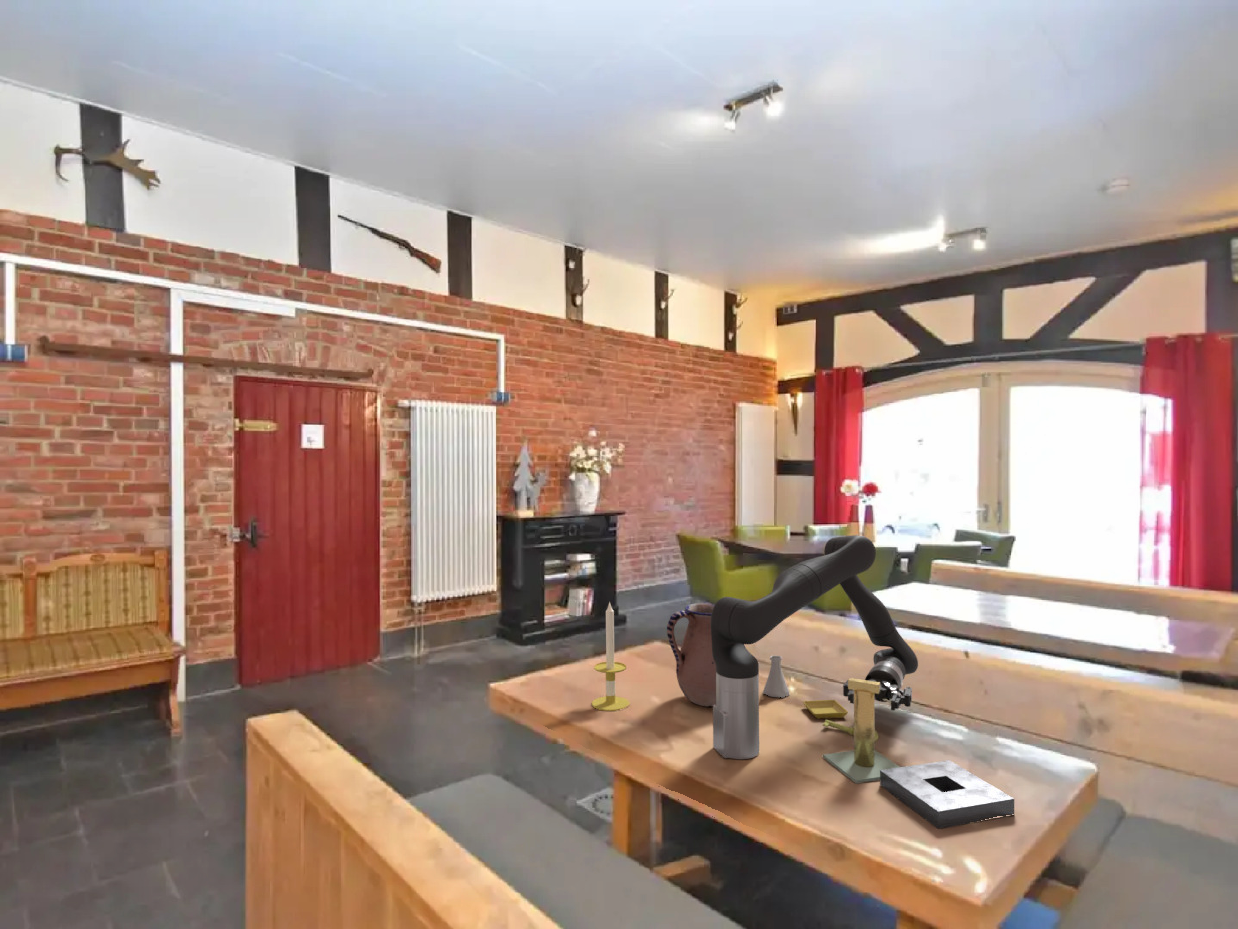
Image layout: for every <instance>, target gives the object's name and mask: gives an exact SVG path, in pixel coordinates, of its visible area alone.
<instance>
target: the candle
mask: <svg viewBox="0 0 1238 929" xmlns="http://www.w3.org/2000/svg"><path fill="white" fill-rule="evenodd" d="M614 614H615V610H613V607H612V605H611V602H610V601H609V603H608V605H607V609H606V610H605V651H606V652H605V654H606V655H605V661H604V662H603V661H602V662H599V663H597V664H595V665H594V667H593V669H594V670H595V671H597V672H599V673H602V674H603V673H605V696H602V697H601V696H600V697H598V698H595V699H594V700H593V701H591V707H593V709H595V708H596V709H595V710H598V709H599V710H598V711H602V710H603V711H602V712H616V710H618V711H621V710H620V709H623V708H625V707H627V705H629V704H631V703H630V701H629V700H628V699H627V698H624V697H621V696H617V695H616V673H617V674H618V673H620V672H621V673H622V672H624V671H625V670H627V665H626V664H625V663H623V662H619V661H615V615H614ZM629 706H630V705H629ZM627 708H628V707H627ZM625 709H626V708H625ZM623 710H624V709H623Z"/></svg>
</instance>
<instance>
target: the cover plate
mask: <svg viewBox="0 0 1238 929" xmlns="http://www.w3.org/2000/svg"><path fill="white" fill-rule="evenodd" d="M879 786H880V787H882V788H883V789H884V790H886V791H887V792H889V793H890V794H891V795H892V796H894V797H895V798H896V799H898V801H900V802H902V803H903V804H904V805H906V806H907V807H909V808H910V809H911V810H912V811H914V812H915V813H916V814H917V815H919V816H920V817H922V818H923V819H924V820H926V821H927V822H929V823H930V824H931V825H932V826H934V827H935V828H937V829H938V830H939V829H940V830H941V829H945V828H950V827H951V828H952V827H956V826H961V825H967V823H969V824H971V823H970V822H974V823H978V822H977V821H980V822H982V821H981V820H985V819H989V818H993V817H997V816H1006V815H1012V814H1014V815H1015V798H1014V797H1012V796H1011V795H1009V794H1008V793H1005V792H1004V791H1002V790H1001V789H999V788H997V787H996V786H994V785H992V784H990V783H988V782H987V781H985V780H983V779H981V778H980V777H978V776H977V775H975V774H973V773H972V772H970V771H968V770H967V769H965V768H964V767H962V766H960V765H959V764H957V763H955V762H953V761H951V760H950V759H948V760H940V761H935V762H927V763H920V764H913V765H907V766H899V768H892V769H885V770H880V780H879ZM944 791H945V792H944ZM946 791H947V792H946Z"/></svg>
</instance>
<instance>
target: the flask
mask: <svg viewBox="0 0 1238 929" xmlns="http://www.w3.org/2000/svg"><path fill="white" fill-rule="evenodd" d="M782 658H783V657H782V656H780V655H770V657H769V659H770V670H769V672H768V676H767V679H766V682H765V684H764V687H763V690H762V691H763V692H762V694H763V695H764V694H766V695H765V696H767V695H768V697H770V698H780V697H781V698H786V697H788V696H790V689H789V687H788V685H787V682H786V679H785V676H784V673H783V670H782V664H781V661H782ZM785 696H786V697H785ZM781 698H780V699H781Z"/></svg>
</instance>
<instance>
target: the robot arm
mask: <svg viewBox="0 0 1238 929" xmlns="http://www.w3.org/2000/svg"><path fill="white" fill-rule="evenodd" d="M824 545H825V546H824V549H823V550H824V552H823V553H824V554H823V555H821V556H816V557H813V558H810V559H806V560H803V561H800V562H797V564H794V565H793V566H791V567H788V568H786V569H785V570H783V571H782V572H781V573H780V574H779V575H778V576H777V577H776V579H775V580H774V582H773V587H772V591H771V592H770V593H768V594H766V595H765V596H763V597H762V598H759V599H756V600H746V599H742V598H737V597H733V596H732V597H730V596H724V597H721V598H720V599H718V600H717V601H716V602H715V603H714V604H713V605H714V608H713V610H712V614H711V640H712V655H713V659H714V662H715V664H716V704H714V705H713V707H712V738H713V739H712V745H713V746H712V747H713V749H715V751H716V752H717V753H718V754H719V755H720V754H721V755H722V756H723V757H724V758H723V757H722V756H721V755H720V756H721V757H722V758H723V759H734V760H748V759H752V758H755V757H757V756H758V755H759V754H760V678H759V676H760V672H759V670H760V669H759V668H760V666H759V664H760V663H759V661H758V659H757V658H756V657H755V656H754V655H753V654H751V652H750V651H749V650H748V649H747V648H746V646H745V645H753V644H756V643H757V642H759V641H761V640H763V638H765V637H766V636H767V635H768V634H769V633H770V632H772V631H773V630H774V629H775V628H777V626H779V625H780V624H781V623H783V621H784V620H786V619H788V618H790V617H791V616H792V615H794V614H795V613H796V612H798V611H800V610H801V609H802V608H805V607H807V606H808V605H810V604H811V603H812V602H814V601H816V600H818V599H819V598H820V597H822V596H824V595H825V594H827V592H830V591H831V590H832V589H834V588H835V587H837V586H839V585H840V587H841V588H842V590H843V591H844V592H845V594H846V595H847V597H848V599H849V600H850V602H851V603H852V605H853V607H854V608H855V610H856V612H857V613H858V615H859V617H860V620H861V622H862V623H863V624H862V625H863V626H864V629H865V631H866V633H867V635H868V638H869V640H870V642H871V643H872V644H873V645H874V646H876V647H884V648H885V649H880V650H877V651H876V652H875V653H874V654H873V659H872V660H873V664H874V665H873V666H872V667H871V669H870V670H869V672H868V673H867V675H866V676H865V678H864V680H867V681H874V682H880V692H879V694H877V693H874V701H877V702H881V703H888V704H890V711H896V710H898V709H899V708H900V707H901V706H902V705H904V706H905V707H907V708H908V707H911V705H912V700H913V688H912V687H911V686H906V687H905V688H903V689H902V687H903V681H904V679H905V676H906V675H912V674H914V673H915V672H917V670H918V667H919V660H918V657H917V655H916V653H915V652H914V650H913V649H912V647H911V646H910V645H909V644H908V643H907V642H906V641H905V639H904V638H903V637H902V635H901V634H900V632H898V630H897V628H896V626H895V624H894V621H893V618H892V616H891V614H890V612H889V610H888V609H887V607H886V606H885V604H884V603H883V602H882V600H880V598H878V597H877V596H876V595H875V594H874V593H873V592H872V591H871V590H870V589H869V588H868V587H867V586H866V585H865V583H863V581H862V580H861V579H860V577H859V576H858V575H859V574H861V573H864V572H866V571H869V569H870V568H871V567H872V566H873V565H874V562H875V560H876V556H877V551H876V547H875V544H874V543H873V541H872V540H871V539H870V538H869V537H867V536H864V535H860V534H855V535H846V536H845V535H843V536H837V537H831V538H830V539H829V540H828V541H827V542H826V544H824ZM886 647H887V648H886ZM849 679H850V678H848V679H847V680H846V682H844V683H843V684H842V688H843V690H842V692H843V694H842V696H843V697H845V698H847V701H848V702H849V703H850V704H853V705H854V690H852V689H848V680H849Z"/></svg>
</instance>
